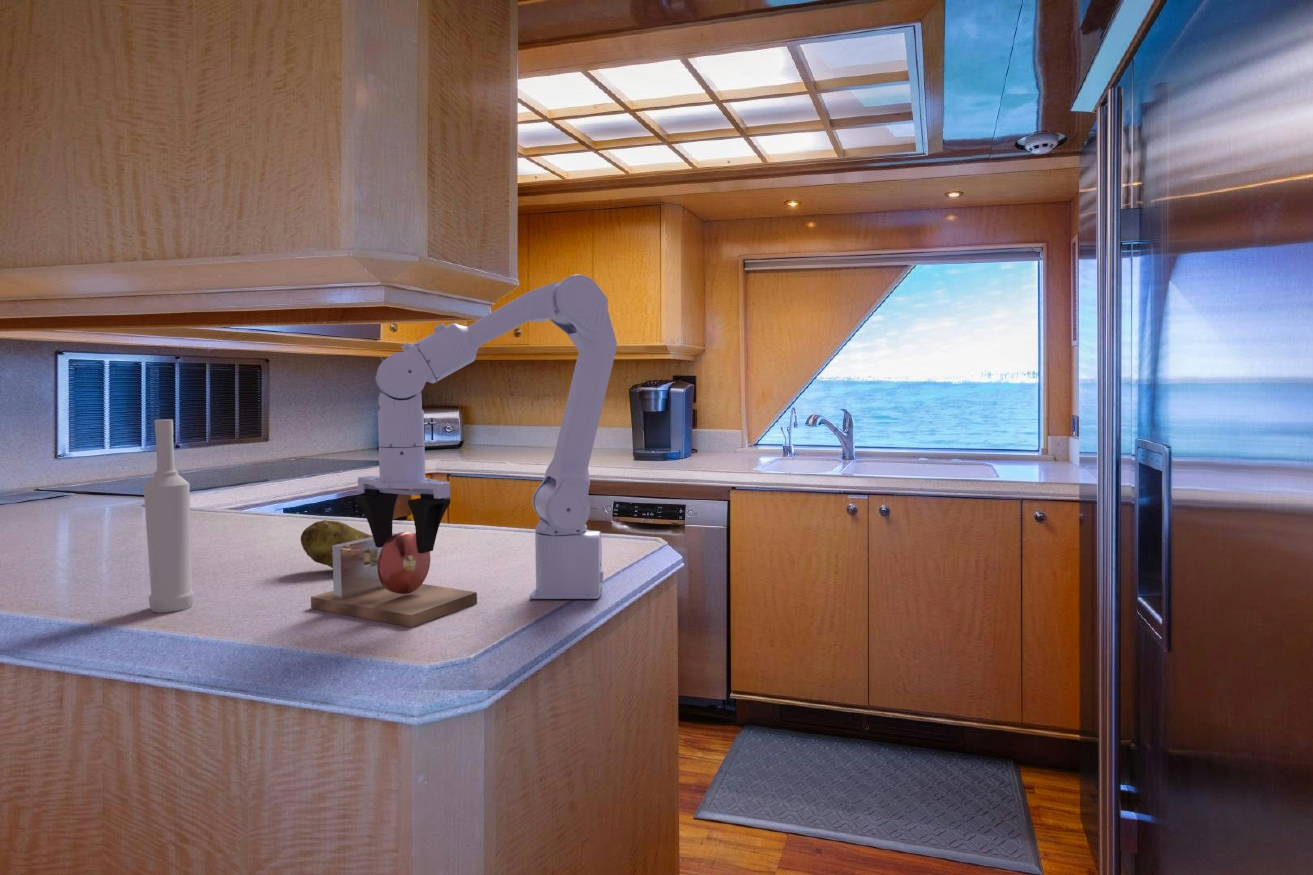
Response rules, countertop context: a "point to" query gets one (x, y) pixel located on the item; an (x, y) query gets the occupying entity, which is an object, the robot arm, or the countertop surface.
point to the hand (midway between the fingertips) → (404, 548)
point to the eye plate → (354, 568)
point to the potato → (328, 539)
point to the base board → (398, 604)
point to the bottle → (168, 529)
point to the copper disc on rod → (401, 564)
